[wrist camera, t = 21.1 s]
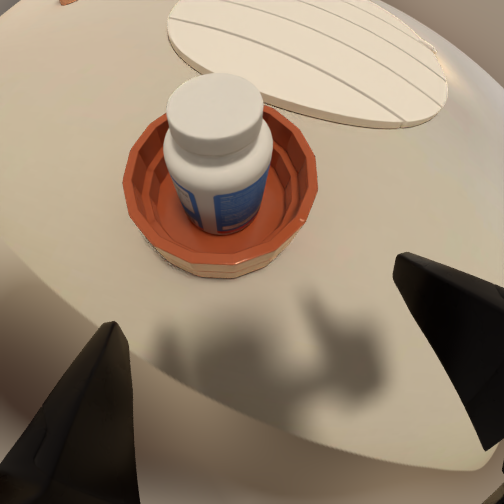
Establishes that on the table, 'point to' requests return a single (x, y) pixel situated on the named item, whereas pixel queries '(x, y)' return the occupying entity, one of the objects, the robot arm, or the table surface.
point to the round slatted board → (316, 57)
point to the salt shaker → (66, 1)
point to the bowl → (231, 245)
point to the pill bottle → (218, 150)
